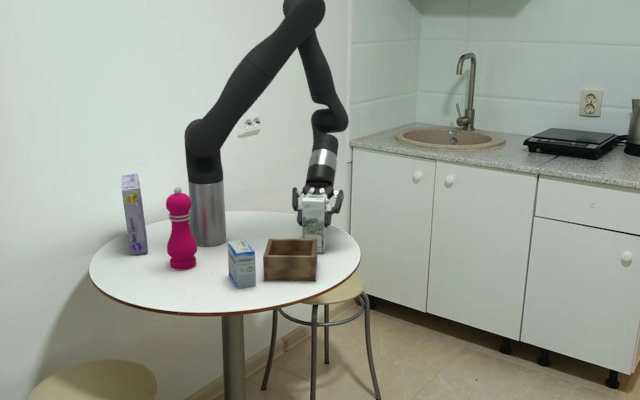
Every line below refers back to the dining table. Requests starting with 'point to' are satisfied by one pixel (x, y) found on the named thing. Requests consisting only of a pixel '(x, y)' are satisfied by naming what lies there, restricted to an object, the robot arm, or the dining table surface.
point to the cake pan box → (134, 214)
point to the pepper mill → (180, 232)
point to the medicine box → (241, 264)
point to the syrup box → (314, 220)
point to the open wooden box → (290, 260)
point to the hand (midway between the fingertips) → (313, 225)
